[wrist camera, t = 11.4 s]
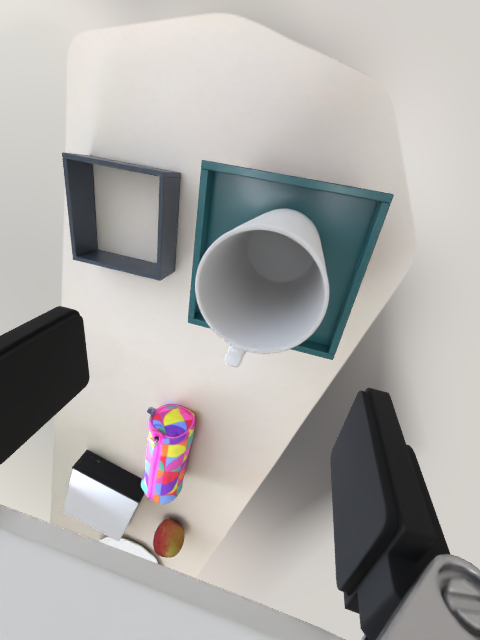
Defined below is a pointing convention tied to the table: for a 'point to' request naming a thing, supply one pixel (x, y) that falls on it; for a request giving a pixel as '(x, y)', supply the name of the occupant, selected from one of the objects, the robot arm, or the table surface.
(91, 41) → the table surface
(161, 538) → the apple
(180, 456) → the pencil case
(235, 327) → the mug
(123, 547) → the plate
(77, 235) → the dark gray square frame
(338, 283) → the tray
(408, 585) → the robot arm
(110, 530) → the disc drive
